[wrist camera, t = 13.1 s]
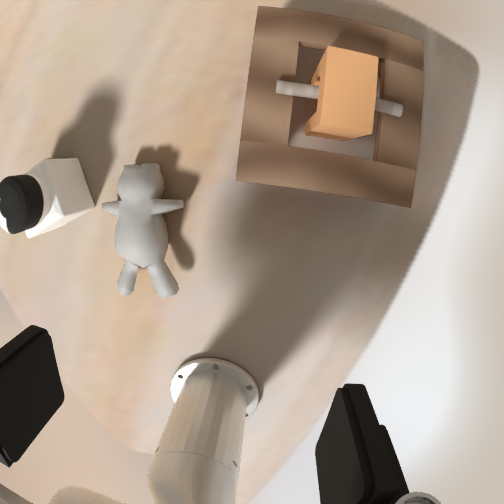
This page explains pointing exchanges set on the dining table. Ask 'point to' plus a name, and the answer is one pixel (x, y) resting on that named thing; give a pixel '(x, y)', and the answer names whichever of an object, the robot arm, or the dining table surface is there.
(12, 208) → the medicine bottle
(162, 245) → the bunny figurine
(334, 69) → the orange boxy part
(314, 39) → the brown square frame
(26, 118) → the dining table surface
